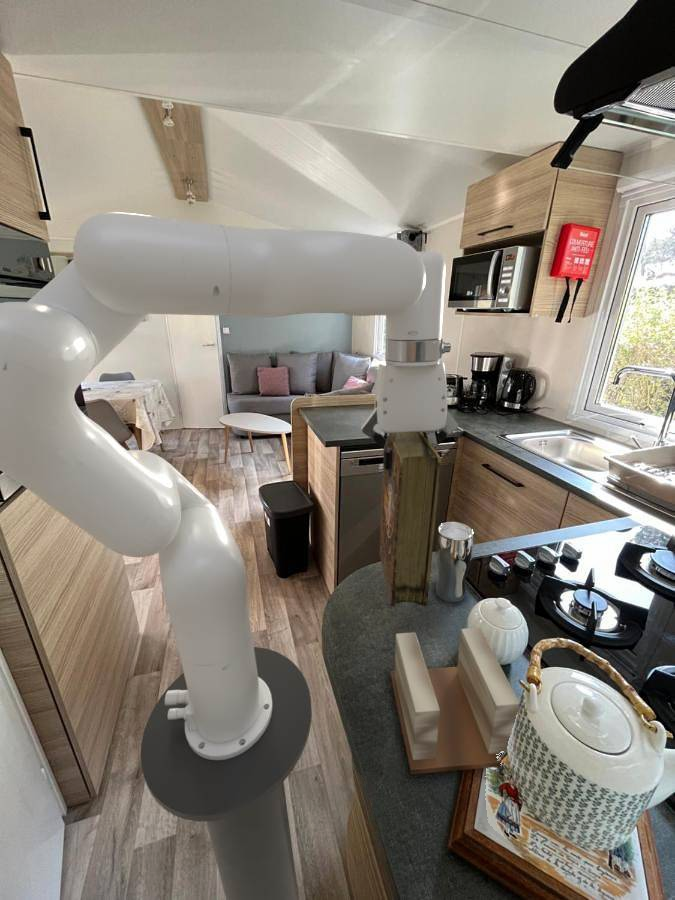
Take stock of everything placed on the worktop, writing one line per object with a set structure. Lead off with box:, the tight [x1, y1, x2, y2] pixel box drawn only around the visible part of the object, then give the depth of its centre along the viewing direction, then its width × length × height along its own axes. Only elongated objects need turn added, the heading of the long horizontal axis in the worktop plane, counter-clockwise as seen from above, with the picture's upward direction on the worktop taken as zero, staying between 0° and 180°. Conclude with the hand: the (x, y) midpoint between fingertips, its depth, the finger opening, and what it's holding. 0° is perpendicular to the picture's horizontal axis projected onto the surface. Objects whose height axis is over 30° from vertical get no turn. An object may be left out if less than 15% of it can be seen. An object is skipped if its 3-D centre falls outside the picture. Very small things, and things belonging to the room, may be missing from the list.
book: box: [378, 432, 442, 608], centre depth 62 cm, size 16×6×25 cm, turn 1°
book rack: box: [389, 627, 520, 775], centre depth 54 cm, size 14×14×10 cm
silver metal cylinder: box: [434, 521, 474, 603], centre depth 77 cm, size 7×7×15 cm
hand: (407, 471), depth 59 cm, fingers closed on book, 4 cm apart
